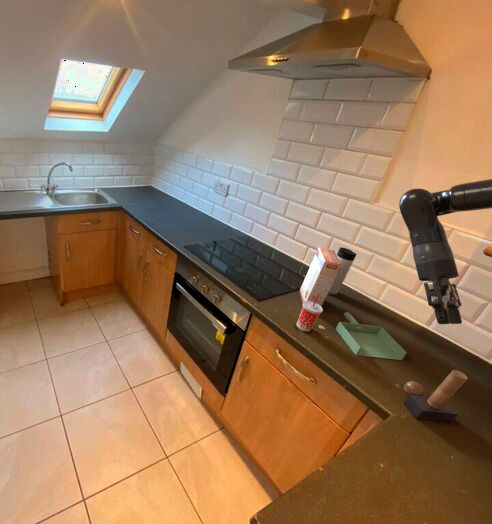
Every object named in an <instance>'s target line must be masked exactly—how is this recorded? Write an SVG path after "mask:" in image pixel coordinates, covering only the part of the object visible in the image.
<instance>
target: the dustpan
mask: <svg viewBox="0 0 492 524" xmlns="http://www.w3.org/2000/svg"><path fill="white" fill-rule="evenodd" d="M343 316H344V317H345V319H346V320H347V321H348V322H344V321H343V322H341V321H339V322H338V324H337V326H336V328H335V330H336V331H337V333H338V334H339V336H340V337H341V338H342V339H343V341H344V343H346V345H347V346H348V347H349V348H350V350H351V351H352V352H353V353H354V355H355V356H358V357H368V358H377V359H386V360H396V361H403V360H404V358H405V357H406V356H407V354H408V352H407V351H406V350H405V349H404V348H403V347H402V346H401V345H400V344H399V343H398V342H397V341H396V339H394V338H393V337H392V336H391V334H389V333H388V331H386V329H384V327H382V326H378V325H369V324H360V323H359V321H357V320H356V318H355V317H353V315H352V314H351V313H350V312H345V313H344V314H343Z"/></svg>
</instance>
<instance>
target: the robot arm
mask: <svg viewBox="0 0 492 524" xmlns="http://www.w3.org/2000/svg"><path fill="white" fill-rule="evenodd" d="M398 207H399V208H398V209H399V211H400V215H401V217H402V219H403V222H404V224H405V226H406V228H407V231H408V235H409V240H410V242H411V243H410V245H411V247H412V257H413V261H414V264H415V269H416V273H417V277H418V280H419V281H420V282H423V287H424V291H425V295H426V300H427V305H428V306H429V307H431V308H432V310H433V311H434V315H435V318H436V323H437V324H438V325H461V324H462V323H463V319H462V316H461V312H460V308H461V307H462V302H461V299H460V296H459V291H458V289H457V285H456V283H451V282H450V279H457V278H458V277H459V275H460V274H459V270H458V267H457V263H456V259H455V256H454V253H453V250H452V248H451V245H450V243H449V240H448V237H447V233H446V229H445V226H444V225H443V224H442V222H441V221H440V220H439V217H441V216H445V215H450V214H454V213H460V212H471V211H472V212H473V211H481V210H490V209H492V178H489V179H483V180H477V181H470V182H464V183H460V184H456V185H453V186H451V187H450V188H449V189H445V190H440V191H436V192H435V191H434V192H430V191H429V190H427V189H425V188H412V189H409V190H407V191H405V192H404V193H403V194H402V196H401V197H400V198H399V202H398Z"/></svg>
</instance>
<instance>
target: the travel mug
mask: <svg viewBox="0 0 492 524" xmlns="http://www.w3.org/2000/svg"><path fill="white" fill-rule="evenodd" d="M336 255H337V257H338V259H339V261H340V263H341V265H342V266H341V268H340V270H339V272H338V274H337V276H336V278H335V280H334V282H333V284H332V286H331V288H330V290H329V292H328V294H327V295H330V296H336V295H338V293H339V291H340V289H341V287H342V285H343V282H344V281H345V279H346V277H347V275H348V273H349V271H350V270H351V267H352V266H353V263H354V261H355V258H356V257H357V253H356V252H354V251H353V250H351V249H349V248H347V247H342V246H341V247H339V249H338V251H337V253H336Z"/></svg>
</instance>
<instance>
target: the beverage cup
mask: <svg viewBox="0 0 492 524" xmlns="http://www.w3.org/2000/svg"><path fill="white" fill-rule="evenodd" d="M319 295H320V294H318V295H317V297H316V299H315V301H314V302H311V301H305V302H304V303H302V308H301V310H300V314H299V316H298V319H297V321H296V327H297V328H298V329H299V330H301V331H303V332H310V331H311V330H312V329H313V327H314V325H315V323H316V321H318V318H319V316H320V315H321V314H322V313H323V311H324V309H323V307H322V306H320V305H319V304H317V303H316V301H317V299H318V297H319Z"/></svg>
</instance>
